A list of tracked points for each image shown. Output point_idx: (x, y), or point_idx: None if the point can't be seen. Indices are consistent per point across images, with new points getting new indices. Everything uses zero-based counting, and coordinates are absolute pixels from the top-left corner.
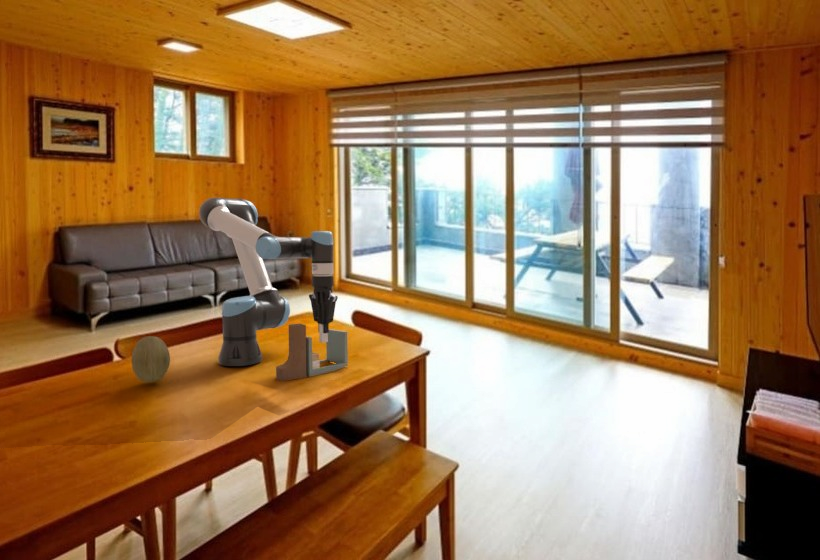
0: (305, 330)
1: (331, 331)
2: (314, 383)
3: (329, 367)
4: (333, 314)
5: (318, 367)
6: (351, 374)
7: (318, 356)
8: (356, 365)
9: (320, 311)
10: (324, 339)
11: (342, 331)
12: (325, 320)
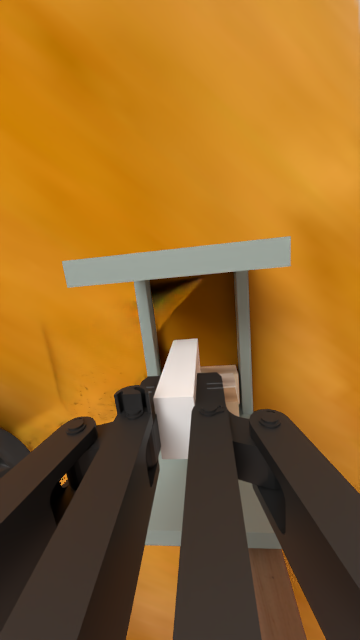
0: (303, 630)
1: (130, 280)
2: (330, 448)
3: (249, 340)
4: (352, 494)
5: (235, 379)
6: (339, 304)
7: (236, 396)
8: (235, 189)
9: (129, 589)
10: (199, 370)
11: (250, 259)
12: (254, 490)
